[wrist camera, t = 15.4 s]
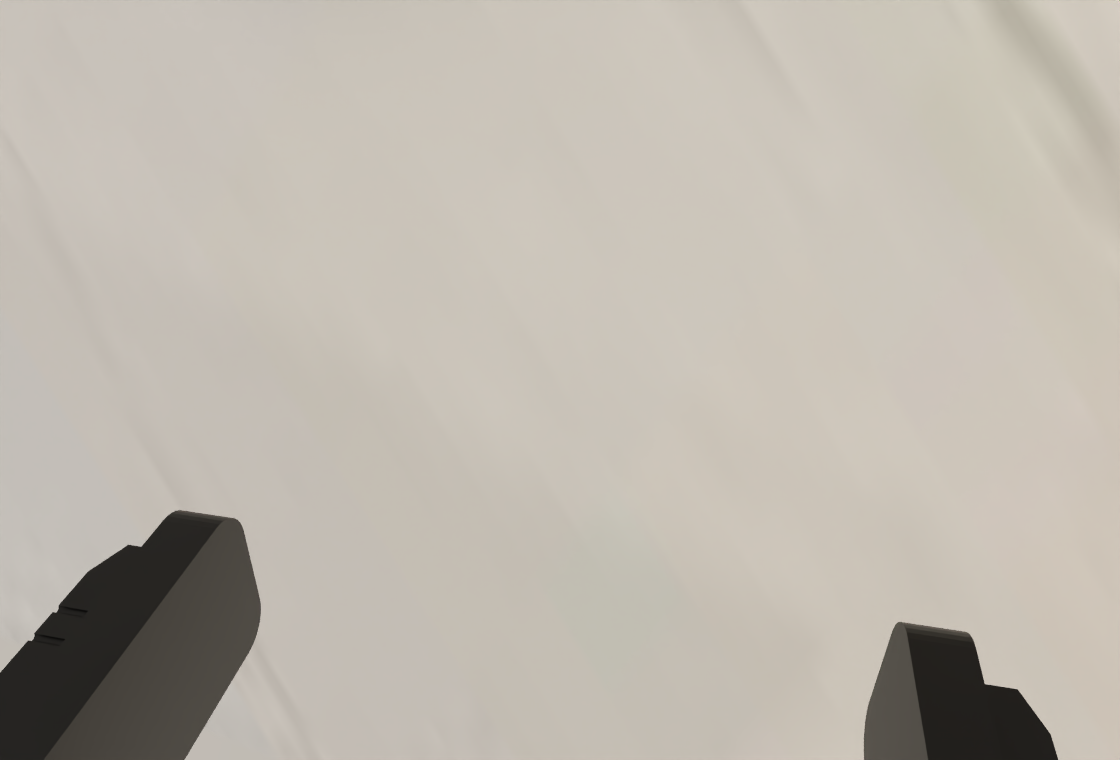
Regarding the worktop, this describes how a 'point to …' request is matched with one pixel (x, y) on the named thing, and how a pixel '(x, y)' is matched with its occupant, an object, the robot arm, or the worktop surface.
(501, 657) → the worktop surface
